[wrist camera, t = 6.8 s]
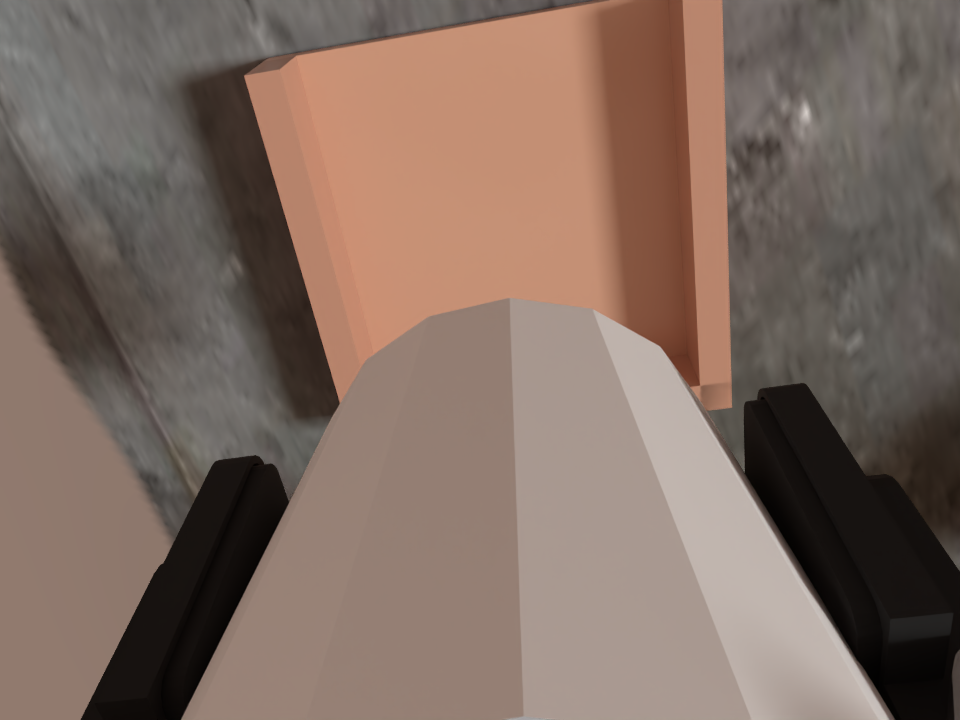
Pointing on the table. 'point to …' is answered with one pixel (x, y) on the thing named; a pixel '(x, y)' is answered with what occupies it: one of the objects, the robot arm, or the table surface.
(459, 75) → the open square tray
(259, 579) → the white cup
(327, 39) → the table surface
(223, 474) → the robot arm
